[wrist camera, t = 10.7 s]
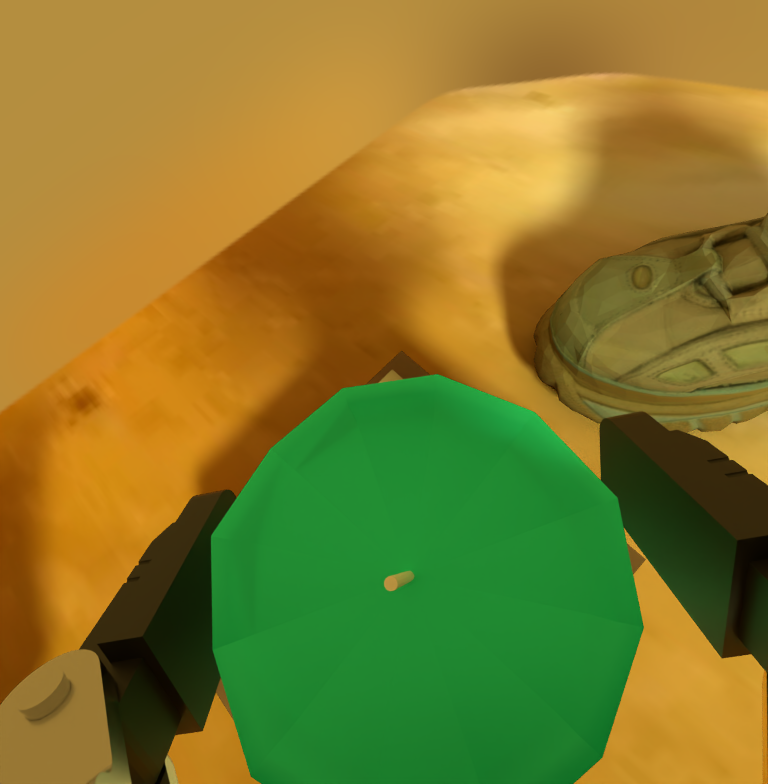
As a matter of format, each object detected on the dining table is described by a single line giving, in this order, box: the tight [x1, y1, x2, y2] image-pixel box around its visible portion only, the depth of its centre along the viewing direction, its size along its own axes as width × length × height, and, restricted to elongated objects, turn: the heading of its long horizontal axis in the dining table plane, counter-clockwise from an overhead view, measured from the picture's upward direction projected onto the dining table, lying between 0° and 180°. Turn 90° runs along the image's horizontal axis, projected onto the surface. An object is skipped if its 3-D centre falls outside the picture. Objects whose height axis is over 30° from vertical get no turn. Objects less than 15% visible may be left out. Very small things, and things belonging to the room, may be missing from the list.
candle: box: [211, 374, 644, 784], centre depth 10 cm, size 6×6×12 cm
